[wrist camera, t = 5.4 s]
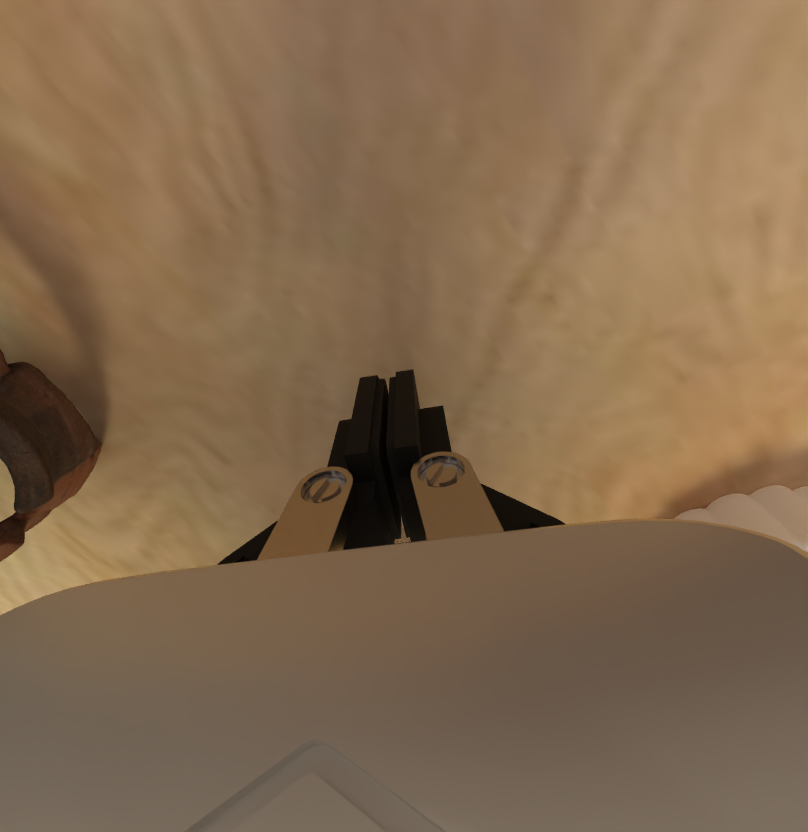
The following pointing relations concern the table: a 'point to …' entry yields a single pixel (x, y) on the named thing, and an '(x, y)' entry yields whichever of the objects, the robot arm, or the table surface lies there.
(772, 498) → the mooncake
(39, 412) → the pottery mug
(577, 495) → the table surface
